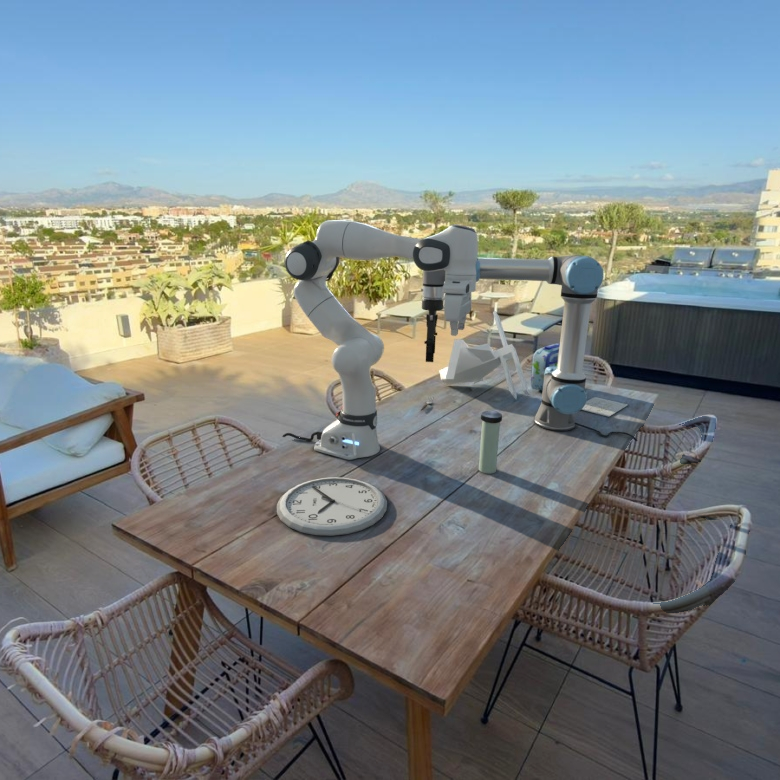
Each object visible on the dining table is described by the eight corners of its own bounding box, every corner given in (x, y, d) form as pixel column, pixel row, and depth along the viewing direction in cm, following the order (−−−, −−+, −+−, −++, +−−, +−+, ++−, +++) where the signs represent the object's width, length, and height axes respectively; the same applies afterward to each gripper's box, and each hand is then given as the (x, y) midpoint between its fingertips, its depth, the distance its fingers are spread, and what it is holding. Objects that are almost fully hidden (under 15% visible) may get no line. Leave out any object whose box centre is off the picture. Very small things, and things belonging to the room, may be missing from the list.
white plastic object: (461, 429, 252) (437, 405, 227) (444, 352, 274) (420, 323, 250) (535, 404, 240) (518, 377, 215) (510, 326, 262) (492, 293, 237)
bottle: (477, 465, 168) (481, 412, 163) (494, 466, 168) (499, 413, 162) (479, 473, 163) (483, 418, 158) (497, 474, 163) (501, 419, 157)
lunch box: (547, 395, 239) (552, 351, 233) (526, 390, 247) (530, 347, 240) (574, 384, 257) (579, 343, 251) (554, 380, 264) (558, 339, 258)
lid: (479, 415, 164) (480, 410, 163) (500, 416, 163) (500, 411, 163) (482, 422, 158) (482, 417, 157) (503, 423, 157) (503, 418, 157)
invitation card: (608, 416, 214) (573, 407, 224) (608, 416, 214) (573, 408, 224) (628, 404, 229) (594, 396, 238) (628, 405, 229) (594, 397, 238)
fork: (417, 411, 216) (418, 406, 216) (428, 400, 231) (428, 395, 230) (423, 412, 215) (424, 407, 215) (434, 400, 230) (434, 396, 229)
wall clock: (392, 527, 129) (268, 531, 127) (391, 533, 130) (269, 537, 127) (383, 473, 158) (282, 475, 155) (383, 478, 158) (282, 480, 156)
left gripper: (457, 280, 160) (454, 325, 164) (441, 287, 141) (439, 337, 145) (477, 281, 158) (474, 327, 162) (464, 288, 139) (461, 339, 143)
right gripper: (424, 293, 195) (422, 349, 202) (419, 302, 172) (417, 365, 178) (444, 294, 195) (441, 350, 201) (442, 303, 171) (439, 366, 177)
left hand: (457, 332), depth 154 cm, fingers open, 8 cm apart
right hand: (430, 357), depth 190 cm, fingers open, 13 cm apart
